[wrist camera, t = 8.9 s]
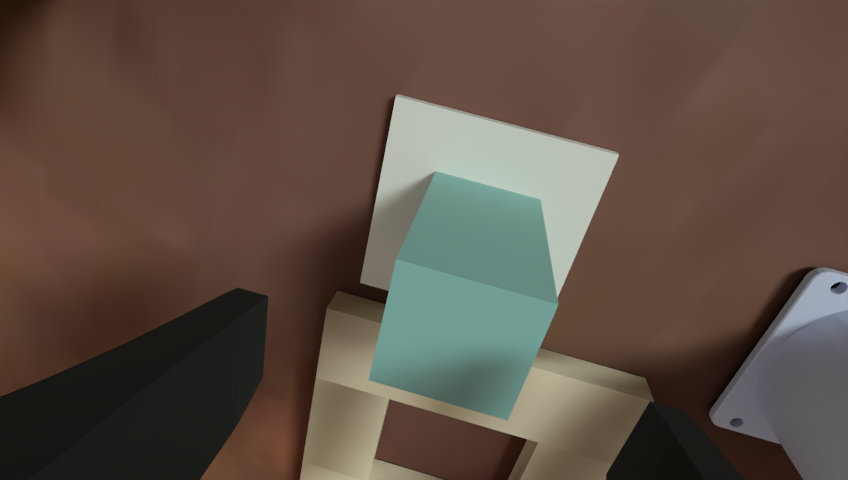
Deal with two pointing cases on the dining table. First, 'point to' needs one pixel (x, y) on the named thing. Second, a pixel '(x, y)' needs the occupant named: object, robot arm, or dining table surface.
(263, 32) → the dining table surface
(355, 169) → the dining table surface
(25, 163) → the dining table surface
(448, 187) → the teal block
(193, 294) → the dining table surface
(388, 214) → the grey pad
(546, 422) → the board
